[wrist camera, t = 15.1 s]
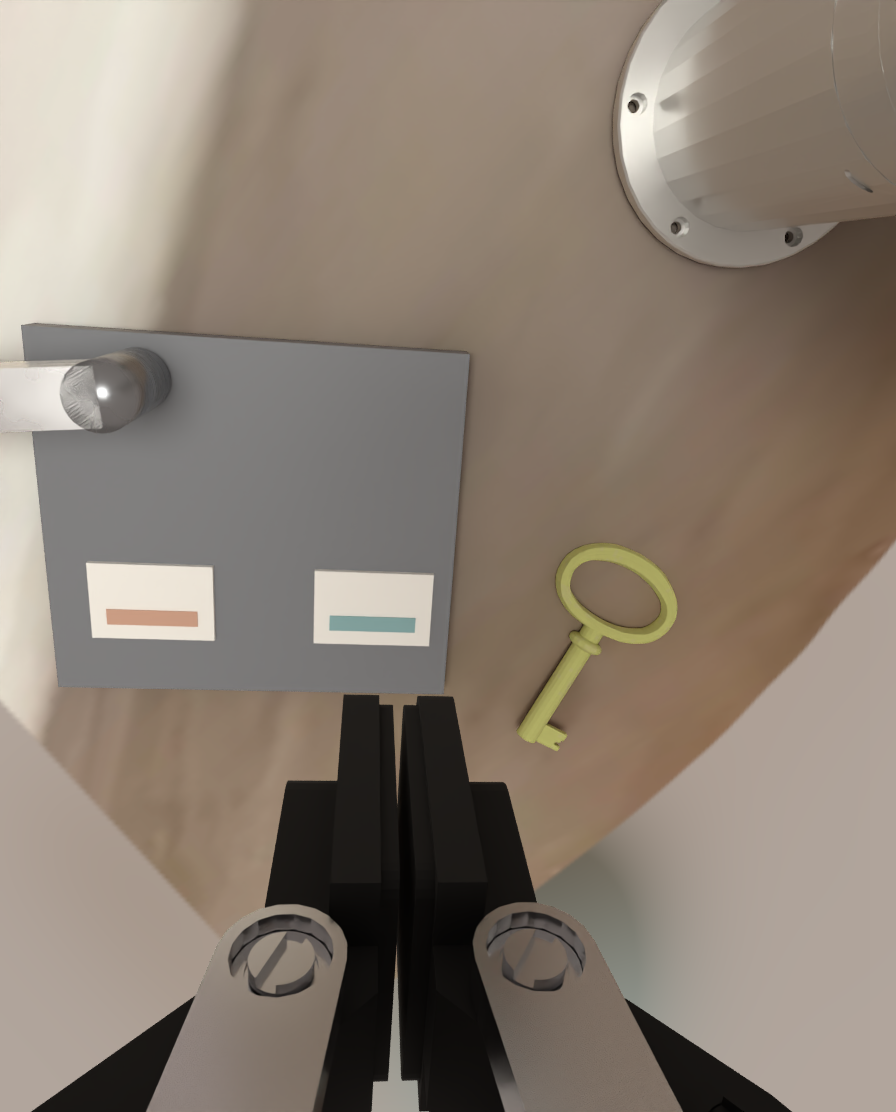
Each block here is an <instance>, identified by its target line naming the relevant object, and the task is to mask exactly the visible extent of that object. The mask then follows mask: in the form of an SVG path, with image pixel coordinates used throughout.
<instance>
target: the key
mask: <svg viewBox="0 0 896 1112" xmlns="http://www.w3.org/2000/svg"><path fill="white" fill-rule="evenodd" d="M589 560H600V561H608V562H612V563H615V564H618V565H621V566H624V567H626V568H627V569H629V570H631V571H633V572H634V573H636V574H638V575H639V576H640V577H641V578H643V579H644V580H645V581H646V582H647V583H648V584H649V585H650V586H651V587H652V589H653V590H654V591H655V593H656V595H657V596H658V598H659V600H660V602H661V611H660V614H659V616H658V617H657V619H656V620H655V621H654V622H652V623H651V624H650V625H648V626H646V627H642V628H626V627H620V626H616V625H614V624H611V623H608V622H606V621H604V620H602V619H600V618H599V617H597V616H595V615H594V614H592V613H591V612H590V611H588V610H587V609H586V608H584V607H583V606H582V605H581V604H580V603H579V602H578V601H577V599H576V598H575V596H574V595H573V593H572V592H571V590H570V580H571V577H572V574H573V572H574V570H575V569H576V568H577V567H578V566H579V565H580V564H582V563H584V562H586V561H589ZM555 578H556V590H557V594H558V596H559V598H560V600H561V602H562V603H563V605H564V607H565V608H566V610H567V611H568V612H569V613H570V614H571V615H572V616H573V617H574V618H576V619H577V620H578V621H580V622H581V623H582V624H583V627H582V628H581V630H580V632H577V631H573V632H571V633H570V635H569V637H570V640H571V641H572V642H573V643H572V644H571V646H570V647H569V649H568V651H567V652H566V654H565V655H564V657H563V658H562V660H561V662H560V663H559V665H558V666H557V668H556V670H555V671H554V673H553V674H552V676H551V677H550V679H549V681H548V682H547V684H546V685H545V687H544V689H543V690H542V692H541V693H540V695H539V696H538V698H537V700H536V701H535V703H534V704H533V706H532V707H531V709H530V711H529V712H528V714H527V715H526V717H525V719H524V720H523V722H522V723H521V725H520V726H519V728H518V730H517V733H518V735H519V736H520V737H522V738H523V739H524V740H526V741H528V742H530V743H535V741H537V742H539V743H541V744H543V745H545V746H547V747H549V748H551V749H553V750H555V751H558V749H559V748H560V747H559V745H558V744H557V743H555V742H558V743H560V742H561V741H564V740H565V738H566V737H567V734H566V733H565V732H564V731H562V730H560V729H558V728H556V727H554V726H552V725H550V724H548V721H549V719H550V718H551V716H552V715H553V713H554V712H555V710H556V708H557V707H558V705H559V704H560V702H561V701H562V699H563V698H564V696H565V694H566V693H567V691H568V690H569V688H570V687H571V685H572V683H573V682H574V680H575V679H576V677H577V676H578V674H579V672H580V671H581V669H582V668H583V666H584V665H585V663H586V662H587V660H588V658H589V657H590V655H591V654H592V655H599V654H600V653H601V647H600V646H599V645H598V643H599V641H600V640H601V638H602V636H603V635H604V636H606V637H608V638H611V639H614V640H617V641H619V642H624V643H630V644H642V643H649V642H652V641H655V640H657V639H659V638H661V637H662V636H663V635H664V634H665V633H667V632H668V630H669V629H670V628H671V626H672V625H673V623H674V621H675V619H676V615H677V600H676V597H675V594H674V591H673V588H672V586H671V584H670V582H669V580H668V579H667V577H666V576H665V574H664V573H663V572H662V571H661V569H660V568H659V567H658V566H656V565H655V564H654V563H653V562H651V561H650V560H649V559H647V558H646V557H644V556H643V555H641V554H639V553H637V552H635V551H633V550H631V549H628V548H626V547H623V546H620V545H616V544H609V543H593V544H588V545H583V546H581V547H579V548H577V549H574V550H573V551H572V552H570V553H569V554H567V555H566V557H565V558H564V559H563V561H562V562H561V564H560V566H559V568H558V570H557V573H556V577H555Z"/></svg>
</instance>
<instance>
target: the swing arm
mask: <svg viewBox="0 0 896 1112" xmlns="http://www.w3.org/2000/svg"><path fill="white" fill-rule="evenodd" d="M170 387H171V378H170V373H169V370H168V368H167V366H166V364H165V363H164V362H163V360H162V359H161V358H160V357H159V356H158V355H156V354H155V353H153V352H152V351H150V350H147V349H144V348H140V347H131V348H126V349H123V350H119V351H116V352H113V353H109V354H106V355H103V356H99V357H96V358H93V359H75V360H44V361H12V362H0V432H23V431H49V430H75V429H85V430H87V431H90V432H93V433H102V434H104V433H111V432H114V431H117V430H119V429H121V428H122V427H124V426H126V425H127V424H129V423H131V422H132V421H134V420H135V419H137V418H139V417H140V416H142V415H144V414H145V413H147V412H149V411H150V410H152V409H154V408H155V407H157V406H158V405H160V404H161V403H162V402H163V401H164V400H165V399H166V397H167V396H168V394H169V391H170Z"/></svg>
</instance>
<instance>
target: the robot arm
mask: <svg viewBox="0 0 896 1112" xmlns="http://www.w3.org/2000/svg"><path fill="white" fill-rule="evenodd" d="M631 101H632V102H634V103H635V105H636V111H635V113H631V112H630V111H629V110H628V103H629V102H631ZM613 147H614V153H615V159H616V165H617V171H618V174H619V177H620V180H621V182H622V185H623V188H624V191H625V193H626V196H627V199H628V200H629V202H630V204H631V205H632V207H633V209H634V210H635V212H636V214H637V215H638V217H639V219H640V220H641V222H642V223H643V224H644V225H645V226H646V227H647V228H648V229H649V230H650V231H651V233H652V234H653V235H654V236H655V237H656V238H657V239H658V240H659V241H661V242H662V243H664V244H665V245H666V246H668V247H669V248H671V249H672V250H673V251H675V252H676V253H677V254H680V255H682V256H684V257H687V258H689V259H691V260H694V261H696V262H698V263H702V264H708V265H713V266H718V267H737V268H744V267H751V266H759V265H767V264H770V263H773V262H776V261H779V260H782V259H785V258H788V257H791V256H793V255H795V254H796V253H798V252H800V251H802V250H804V249H805V248H807V247H809V246H811V245H813V244H814V243H816V242H817V241H818V240H819V239H821V238H822V237H823V236H824V235H826V234H827V233H828V232H829V231H830V230H832V229H833V228H834V227H835V226H837V224H838V223H839V222H843V221H852V220H861V219H870V218H879V217H888V216H896V0H663V1H662V2H661V3H660V4H659V5H658V7H657V8H656V9H655V11H654V12H653V13H652V15H651V16H650V17H649V18H648V20H647V21H646V22H645V24H644V25H643V26H642V28H641V30H640V32H639V34H638V36H637V38H636V39H635V41H634V43H633V45H632V47H631V49H630V51H629V53H628V55H627V58H626V61H625V64H624V67H623V70H622V73H621V76H620V79H619V82H618V86H617V92H616V98H615V104H614V110H613ZM673 222H675V223H676V224H677V225H678V230H677V232H676V233H675V234H673V233H672V232H671V224H672V223H673ZM786 232H787V233H788V235H789V239H788V241H787V242H785V234H786ZM396 945H397V967H398V998H399V1027H400V1057H401V1079H402V1080H403V1081H404V1080H418V1097H419V1111H429V1112H792V1111H790V1110H789V1109H788V1108H787V1107H785V1106H784V1105H783V1104H782V1103H781V1102H779V1101H778V1100H777V1099H776V1098H774V1097H773V1096H772V1095H771V1094H769V1093H768V1092H766V1091H764V1090H763V1089H762V1088H760V1087H759V1086H757V1085H755V1084H754V1083H752V1082H751V1081H749V1080H748V1079H746V1078H745V1077H743V1076H742V1075H740V1074H739V1073H737V1072H736V1071H734V1070H733V1069H731V1068H730V1067H728V1066H727V1065H725V1064H724V1063H722V1062H721V1061H719V1060H717V1059H716V1058H715V1057H713V1056H712V1055H710V1054H709V1053H707V1052H706V1051H704V1050H703V1049H701V1048H700V1047H698V1046H696V1045H695V1044H693V1043H692V1042H690V1041H689V1040H687V1039H686V1038H684V1037H683V1036H681V1035H680V1034H678V1033H677V1032H675V1031H674V1030H672V1029H671V1028H669V1027H668V1026H666V1025H665V1024H663V1023H662V1022H660V1021H659V1020H657V1019H655V1018H654V1017H653V1016H651V1015H650V1014H648V1013H647V1012H645V1011H644V1010H642V1009H640V1008H639V1007H638V1006H636V1005H634V1004H633V1003H631V1002H630V1001H628V1000H627V999H625V998H624V997H623V995H622V993H621V991H620V989H619V987H618V985H617V983H616V981H615V979H614V977H613V976H612V973H611V972H610V970H609V968H608V966H607V964H606V962H605V960H604V958H603V956H602V954H601V952H600V950H599V948H598V946H597V944H596V942H595V941H594V939H593V938H592V937H591V935H590V934H589V932H588V931H587V930H586V928H585V927H584V926H583V925H582V924H581V923H579V922H578V921H577V920H576V919H574V918H573V917H572V916H571V915H569V914H567V913H565V912H563V911H561V910H559V909H556V908H555V907H552V906H547V905H543V904H539V903H537V901H536V897H535V893H534V889H533V886H532V882H531V878H530V874H529V870H528V866H527V862H526V858H525V854H524V851H523V847H522V843H521V839H520V835H519V831H518V827H517V823H516V820H515V816H514V812H513V808H512V804H511V800H510V796H509V792H508V789H507V786H506V784H505V783H504V782H469V778H468V773H467V768H466V762H465V757H464V751H463V746H462V741H461V735H460V730H459V725H458V719H457V714H456V708H455V703H454V699H453V697H445V696H418V697H417V704H416V705H404V707H403V719H402V736H401V753H400V770H399V787H398V804H397V792H396V768H395V745H394V721H393V705H379V695H344V698H343V711H342V725H341V739H340V752H339V766H338V779H337V781H287V784H286V788H285V793H284V799H283V805H282V811H281V817H280V822H279V828H278V834H277V840H276V845H275V851H274V857H273V863H272V868H271V874H270V880H269V886H268V891H267V897H266V903H265V908H262V909H258V910H257V911H255V912H253V913H251V914H249V915H247V916H245V917H243V918H241V919H240V920H239V921H237V922H236V923H235V924H234V925H233V926H232V927H230V928H229V929H228V930H227V931H226V933H225V934H224V936H223V937H222V939H221V940H220V942H219V944H218V945H217V947H216V949H215V952H214V954H213V956H212V959H211V961H210V963H209V966H208V968H207V970H206V973H205V975H204V978H203V980H202V982H201V984H200V987H199V989H198V991H197V994H196V996H194V997H193V998H191V999H190V1000H188V1001H187V1002H186V1003H184V1004H183V1005H181V1006H180V1007H179V1008H177V1009H176V1010H174V1011H173V1012H171V1013H170V1014H169V1015H167V1016H166V1017H165V1018H163V1019H162V1020H160V1021H159V1022H157V1023H156V1024H155V1025H153V1026H152V1027H150V1028H149V1029H147V1030H146V1031H145V1032H143V1033H142V1034H141V1035H139V1036H138V1037H136V1038H135V1039H133V1040H132V1041H130V1042H129V1043H128V1044H126V1045H125V1046H124V1047H122V1048H121V1049H119V1050H118V1051H116V1052H115V1053H114V1054H112V1055H111V1056H109V1057H108V1058H107V1059H105V1060H104V1061H102V1062H101V1063H99V1064H98V1065H97V1066H95V1067H94V1068H92V1069H91V1070H89V1071H88V1072H87V1073H85V1074H84V1075H82V1076H81V1077H80V1078H78V1079H77V1080H75V1081H74V1082H73V1083H71V1084H70V1085H68V1086H67V1087H66V1088H64V1089H63V1090H61V1091H60V1092H58V1093H57V1094H56V1095H54V1096H53V1097H51V1098H50V1099H49V1100H47V1101H46V1102H45V1103H43V1104H41V1105H40V1106H39V1107H37V1108H36V1109H35V1110H33V1111H32V1112H371V1111H372V1092H373V1082H375V1081H388V1072H389V1057H390V1040H391V1025H392V1009H393V993H394V992H393V991H394V977H395V961H396Z"/></svg>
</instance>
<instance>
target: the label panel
mask: <svg viewBox="0 0 896 1112" xmlns="http://www.w3.org/2000/svg"><path fill="white" fill-rule="evenodd" d="M21 329H22V339H23V349H24V358H25V361H44V360H75V359H93V358H96V357H99V356H103V355H106V354H109V353H113V352H116V351H119V350H123V349H126V348H131V347H140V348H144V349H147V350H150V351H152V352H153V353H155V354H156V355H158V356H159V357H160V358H161V359H162V360H163V362H164V363H165V364H166V366H167V368H168V370H169V373H170V378H171V387H170V391H169V394H168V396H167V397H166V399H165V400H164V401H163V402H162V403H161V404H160V405H158V406H157V407H155V408H154V409H152V410H150V411H149V412H147V413H145V414H144V415H142V416H140V417H139V418H137V419H135V420H134V421H132V422H131V423H129V424H127V425H126V426H124V427H122V428H121V429H119V430H117V431H114V432H111V433H104V434H102V433H93V432H90V431H87V430H85V429H75V430H49V431H32V436H33V445H34V455H35V465H36V475H37V484H38V494H39V504H40V513H41V523H42V533H43V542H44V552H45V562H46V571H47V581H48V591H49V600H50V610H51V620H52V629H53V639H54V649H55V658H56V668H57V678H58V687H91V688H143V689H195V690H248V691H300V692H352V693H404V694H444V681H445V668H446V656H447V643H448V630H449V617H450V604H451V591H452V578H453V565H454V552H455V540H456V527H457V514H458V501H459V488H460V475H461V462H462V449H463V436H464V424H465V411H466V398H467V385H468V372H469V359H470V354H469V353H468V352H466V351H452V350H437V349H422V348H406V347H391V346H376V345H360V344H345V343H330V342H314V341H299V340H284V339H268V338H253V337H238V336H223V335H207V334H192V333H177V332H161V331H146V330H131V329H115V328H100V327H85V326H69V325H54V324H39V323H33V324H26V325H21Z"/></svg>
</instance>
